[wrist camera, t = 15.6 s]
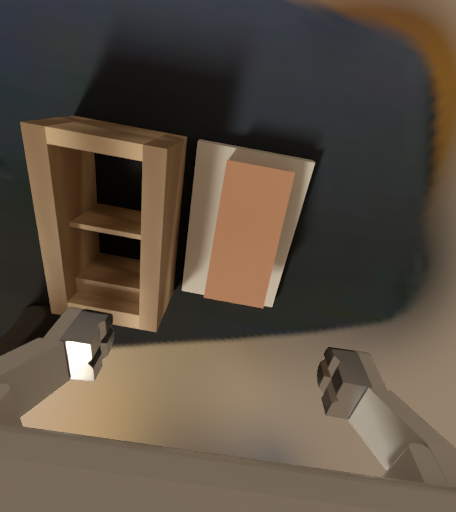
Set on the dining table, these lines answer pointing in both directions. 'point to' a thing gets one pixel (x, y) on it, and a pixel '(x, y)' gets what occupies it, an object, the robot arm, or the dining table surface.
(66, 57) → the dining table surface
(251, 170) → the tile
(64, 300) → the pocket block
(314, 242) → the dining table surface
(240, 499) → the robot arm
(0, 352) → the beer glass
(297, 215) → the mat
